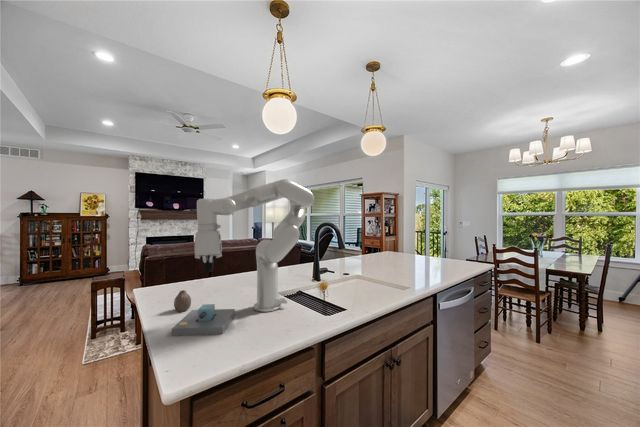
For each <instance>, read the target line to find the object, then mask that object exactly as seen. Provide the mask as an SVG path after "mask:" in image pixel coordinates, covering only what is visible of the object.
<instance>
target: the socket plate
mask: <svg viewBox="0 0 640 427" xmlns="http://www.w3.org/2000/svg"><path fill="white" fill-rule="evenodd" d="M235 314H236V309H235V308H224V309H221V308H220V309H219V308H218V309H216V308H215V317H214V318H213V320H212V321H206V322H198V309H192V310H191V311H189V312H188V313H187V314H186V315H184V317H183V318H182V319H181V320H179V321H178V322H177V323H176V324H175V325H174V326H173V327H171V336H172V335H173V336H198V335H199V334H203V335H223V334H224V332H225V331H226V329H227V327H228V326H229V325H230V323H231V322H232V320H233V318H234V317H235ZM197 334H198V335H197ZM199 336H200V335H199Z"/></svg>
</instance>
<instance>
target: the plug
mask: <svg viewBox="0 0 640 427" xmlns="http://www.w3.org/2000/svg"><path fill="white" fill-rule="evenodd" d="M215 306H216V305H215V303H212V304H207V303H206V304H205V303H204V304H202V305H201V306H200V307H199V308H198V309H197V310H198V322H206V321H212V320H213V318H214V317H215V309H216V307H215Z"/></svg>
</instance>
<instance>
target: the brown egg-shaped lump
mask: <svg viewBox="0 0 640 427" xmlns="http://www.w3.org/2000/svg"><path fill="white" fill-rule="evenodd" d="M191 304H192V298H191V296H190V295H189V294H188V293H187V291H186V290H185V289H184V290H183V289H182V290H180V291H179V293H178V294H177V295H176V296H175V298H174V301H173V307H174V310H175V311H177V312H178V313H183V312H186V311H188V310H189V309H190V307H191Z"/></svg>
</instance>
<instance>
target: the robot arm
mask: <svg viewBox="0 0 640 427" xmlns="http://www.w3.org/2000/svg"><path fill="white" fill-rule="evenodd" d="M281 199H287V200H289V207H290V208H289V212H288V213H287V214H286V215H285V217H284V218H283V219H282V220H281V221H280V222H279V223H278V225H277V226H275V228H273V231H272V240H271V239H263V240H261V241H260V242H258V244H257V245H256V248H255V257H256V258H255V260H256V303H254V304H253V309H254V311H257V312H261V313H264V312H265V313H266V312H267V313H268V312H269V313H270V312H273V311H278V310H279V309H281V307H282V304H285V305H286V304H288V299H286V298H285V297H284V298H282V297H280V295H279V294H278V293H279V292H278V289H279V288H278V286H279V285H278V284H279V282H278V279H279V278H278V273H279V271H278V270H279V266H278V263H279V262H281V261H282V260H283V259H284V258H285V257H286V256H287V255H288V254H289V252H290V251H291V250H292V249H293V248H294V246H295V245H296V244H297V243H298V241H299V239H300V235H301V234H300V229H299V228H300V227H301V226H302V224H303V223H304V222H305V219H306V209H308V208H311V207H312V205H313V204H314V203H315V195H314V194H313V192H312V191H311V190H309V189H307V188H306V187H303V186H302V185H300V184H297V183H296V182H294V181H293V180H289V179H286V178H282V179H279V180H276V181H273V182H268V183H267V184H266V183H265V184H262V185H259V186H256V187H253V188H249V189H247V190H245V191H242V192H239V193H236V194H233V195H231V196H230V195H229V196H227V197H223V198H199V199H198V200H196V215H197V216H196V218H197V219H196V221H197V231H196V233H195V236H194V237H195V238H194V258H195V259H199V260H201V261H202V262H203V263H204V270H205V273H211V272H212V271H213V270H214V261H215V260H216V259H219V258H221V257H223V254H222V251H223V245H222V237H221V232H220V230H218V229H221V227H222V226H221V224H218V219H217V218H218V216H217V215H219V216H226V217H227V216H231V215H233V214H234V213H235V212H238V211H241V210H244V209H249V208H255V207H261V206H262V205H265V204H266V205H267V204H269V203H271V202H274V201H277V200H281ZM208 256H209V258H208Z"/></svg>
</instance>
